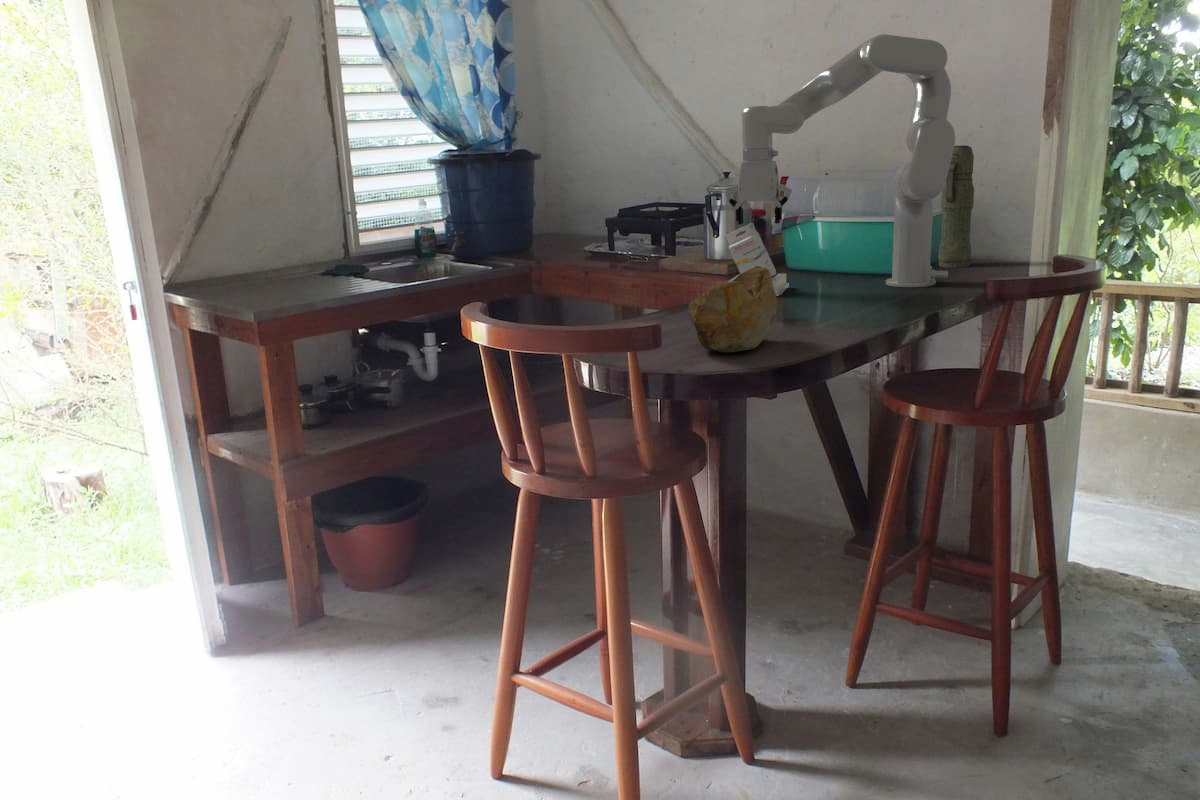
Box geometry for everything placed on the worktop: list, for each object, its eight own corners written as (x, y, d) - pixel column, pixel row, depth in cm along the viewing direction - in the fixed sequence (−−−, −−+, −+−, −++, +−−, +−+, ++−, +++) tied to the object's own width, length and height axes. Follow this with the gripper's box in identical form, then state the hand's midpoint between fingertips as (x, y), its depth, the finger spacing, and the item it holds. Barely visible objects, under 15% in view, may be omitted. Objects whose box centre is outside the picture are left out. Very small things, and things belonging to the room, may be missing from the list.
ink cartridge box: (746, 288, 254) (722, 238, 252) (747, 285, 259) (723, 235, 257) (776, 274, 252) (752, 223, 249) (776, 271, 257) (753, 221, 254)
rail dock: (788, 288, 261) (789, 273, 260) (778, 297, 247) (778, 281, 246) (738, 287, 266) (737, 273, 265) (725, 296, 252) (724, 281, 251)
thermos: (932, 270, 282) (937, 146, 273) (944, 265, 291) (950, 145, 282) (963, 271, 277) (970, 145, 268) (974, 266, 286) (981, 144, 277)
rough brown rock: (713, 332, 207) (712, 262, 203) (787, 337, 198) (787, 264, 194) (662, 353, 188) (660, 277, 184) (741, 360, 179) (741, 280, 175)
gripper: (794, 153, 248) (794, 221, 252) (728, 157, 254) (729, 223, 258) (788, 154, 241) (789, 224, 245) (721, 158, 247) (723, 226, 252)
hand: (759, 223), depth 252 cm, fingers open, 9 cm apart
